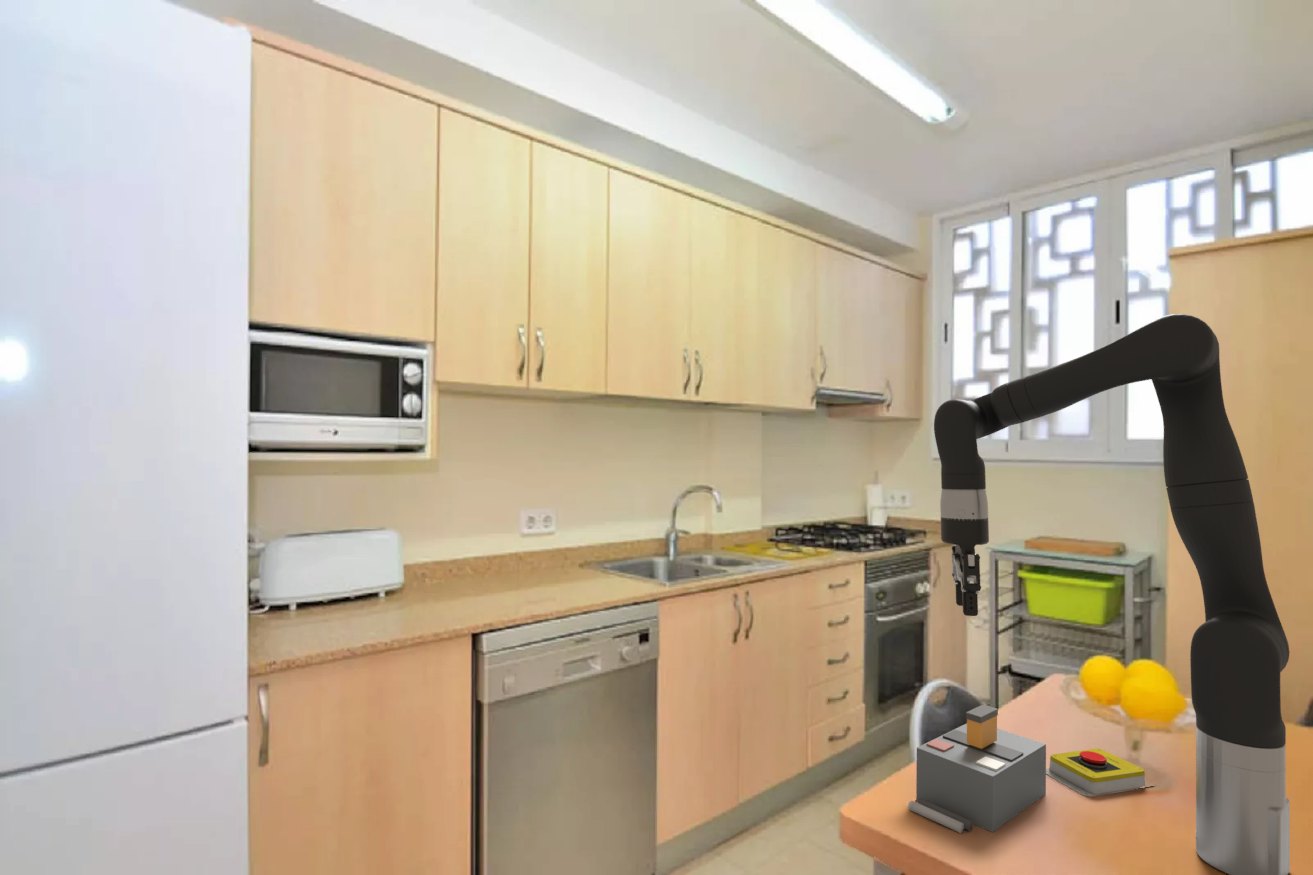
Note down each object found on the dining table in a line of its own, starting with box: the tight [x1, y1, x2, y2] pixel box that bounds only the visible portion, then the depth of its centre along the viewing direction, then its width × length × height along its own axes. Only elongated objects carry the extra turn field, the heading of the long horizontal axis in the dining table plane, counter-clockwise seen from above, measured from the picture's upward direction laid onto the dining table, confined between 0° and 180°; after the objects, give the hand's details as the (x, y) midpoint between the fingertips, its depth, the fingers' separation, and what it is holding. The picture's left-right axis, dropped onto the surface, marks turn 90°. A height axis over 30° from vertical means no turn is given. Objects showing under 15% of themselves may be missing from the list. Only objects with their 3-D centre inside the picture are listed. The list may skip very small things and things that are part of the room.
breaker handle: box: [965, 704, 999, 749], centre depth 110 cm, size 2×6×5 cm, turn 129°
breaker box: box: [915, 722, 1047, 833], centre depth 110 cm, size 12×18×8 cm, turn 129°
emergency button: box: [1046, 748, 1146, 797], centre depth 116 cm, size 9×4×15 cm
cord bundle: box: [907, 799, 974, 834], centre depth 102 cm, size 9×3×1 cm, turn 39°
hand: (966, 610), depth 118 cm, fingers open, 8 cm apart
